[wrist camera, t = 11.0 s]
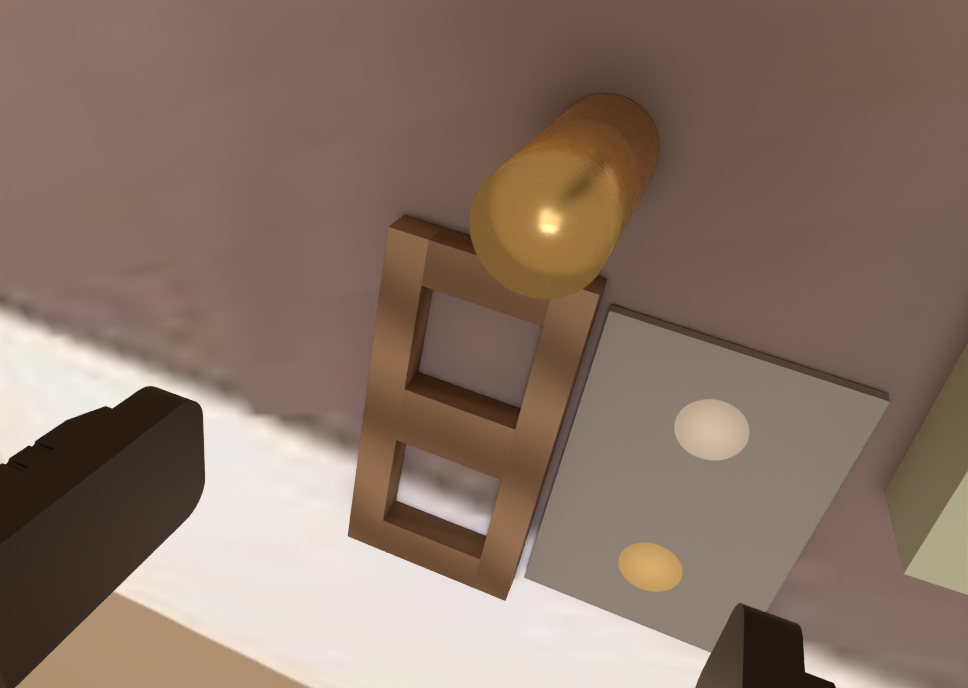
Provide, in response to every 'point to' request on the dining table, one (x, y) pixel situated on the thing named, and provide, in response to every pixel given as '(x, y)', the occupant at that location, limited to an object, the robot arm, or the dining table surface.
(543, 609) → the dining table surface
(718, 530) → the grey mat
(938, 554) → the green cover
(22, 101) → the dining table surface
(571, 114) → the brass pin
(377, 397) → the walnut frame
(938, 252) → the dining table surface
